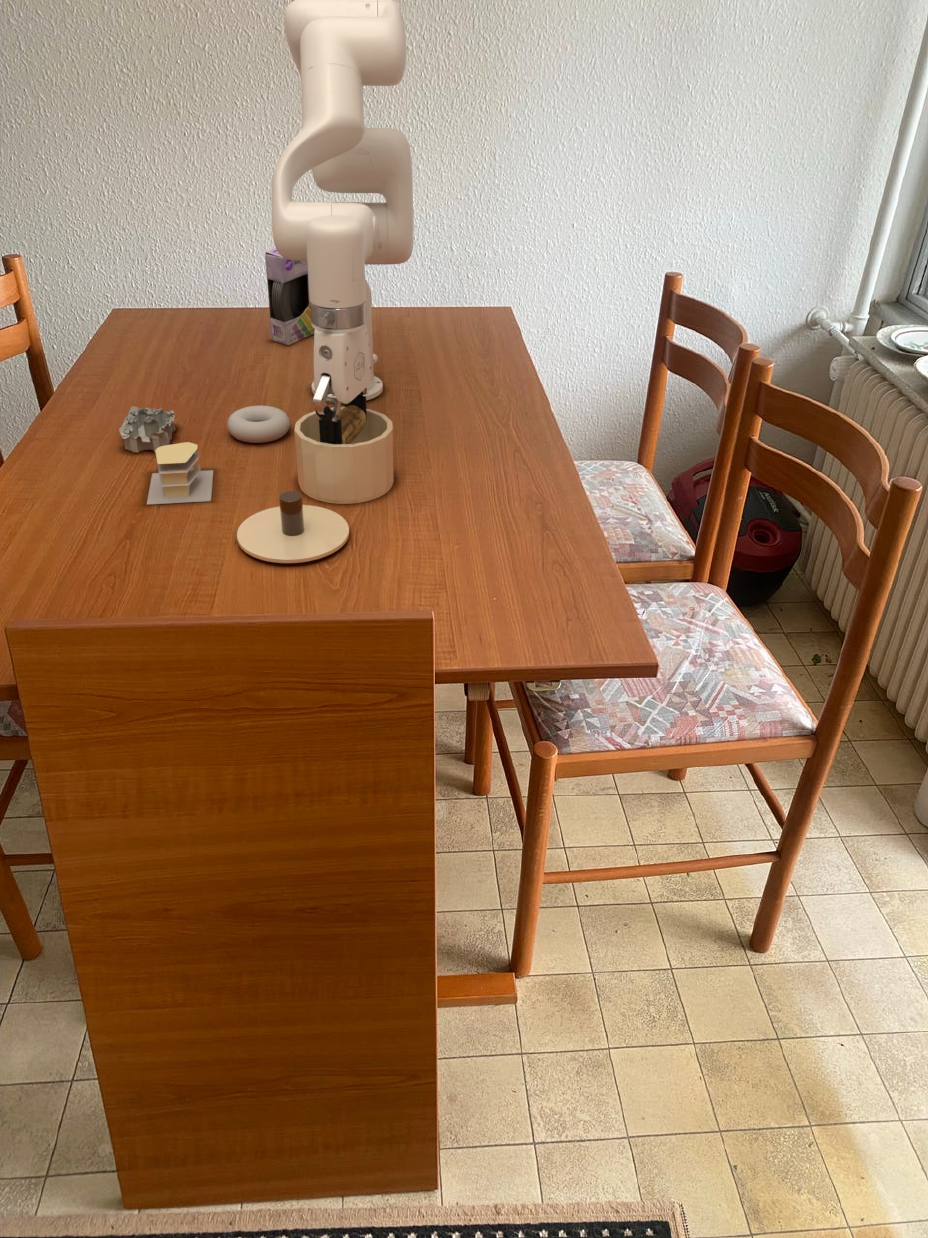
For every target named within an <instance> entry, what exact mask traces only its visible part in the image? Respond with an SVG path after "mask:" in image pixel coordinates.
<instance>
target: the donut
mask: <svg viewBox="0 0 928 1238" xmlns="http://www.w3.org/2000/svg"><path fill="white" fill-rule="evenodd" d="M290 426H291V421H290V418H289V416H288V414H287V413H286V412H285V411H284V410H282V409H280V408H278V407H275V406H269V405H250V406H246V407H242V408H240V409H236V410H235V411H234V412H233V413H232V414H230V416H229V418H228V419H227V422H226V427H227V430H228V433H229V434H230V435H231V436H232V437H233V438H235V439H236V440H237V441H241V442H244V443H250V444H261V443H262V444H263V443H270V442H273V441H277V440H278V439H281V438H282V437H284V436H285V435H286V434H287V433H288V431H289V429H290Z"/></svg>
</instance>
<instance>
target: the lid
mask: <svg viewBox="0 0 928 1238" xmlns="http://www.w3.org/2000/svg"><path fill="white" fill-rule="evenodd" d="M278 502H279V506H273V507H270V508H266V509H263V510H260V511H258V512H255V513H254V514H252V515H250V516H249V517H247V518H246V519H245V520H243V521H242V522H241V524H239V526H238V528H237V531H236V541H237V544H238V546H239V547H240V549H241V550H242V551H244V553H246V554H248V555H249V556H251V557H253V558H255V559H258V560H260V561H264V562H269V563H270V562H271V563H275V564H276V563H277V564H299V563H300V564H301V563H306V562H311V561H312V562H313V561H315V560H316V561H317V560H321V559H323V558H326V557H328V556H330V555H332V554H335V552H338V551H339V550H341V548H342V547H343V546H345V544H346V543H347V542H348V540H349V537H350V526H349V523H348V522H347V520H346V519H345V518H344V517H343V516H342V515H341V514H339V513H337V512H336V511H333V510H331V509H328V508H325V507H321V506H317V505H311V504H303V496H302V494H301V493H300V492H299V491H295V490H294V491H293V490H292V491H291V490H290V491H285V492H281V493H280V494H279V496H278Z"/></svg>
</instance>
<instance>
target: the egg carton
mask: <svg viewBox="0 0 928 1238" xmlns="http://www.w3.org/2000/svg"><path fill="white" fill-rule="evenodd" d="M175 417H176V415H175V411H174V410H173V409H170V410H169V411H165V410H164V409H163V408H162V407H160V408H158V409H157V408H154V407H150V408H149V407H146V406H145V407H144V408H142V407H137V406H133V405H131V406H130V409H129V411H128V414H127V415H126V416H125V417H124V421H123V423H122V424H121V426H120V427H119V429H118V432H119V434H120V436H121V438H122V439H123V444H124V449H125V450H128V451H131V452H132V453H133V454H135V453H136V454H138V453H140V452H142V451H146V450H147V451H150V450H151V451H153V453H156V452H155V450H156V449H157V448H159V447H161V446H166V445H171V444H170V443H171V441H172V440H173V432H176V426H175Z"/></svg>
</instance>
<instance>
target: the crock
mask: <svg viewBox="0 0 928 1238" xmlns="http://www.w3.org/2000/svg"><path fill="white" fill-rule="evenodd" d="M329 408H330V409H331V410H332V411H333V409H334V406H333V407H329ZM343 408H345V406H341V408H340V411H341V410H342V409H343ZM393 432H394V427H393V421H392V420H391V419H390V418H389V417H388V416H387V415H386V414H384V413H382V412H379V411H376V410H374V409H372V408H371V409H370V408H367V420H366V424H365V426H364V428H363V429H362V431H361V432H360V433H359V435H358V436H357V437H356V438H355V439H354V440H353V441H352V442H351V443H350V444H329V443H322V442H320V430H319V419H318V418H317V414H316V410H314V411H312V412H309V413H307V414H304V415H302V416H301V417H300V418H299V419H298V420H297V421H296V422H295V423H294V442H295V445H294V446H295V456H296V470H297V481H298V486H299V489H300V490H301V491H302V493H303V494H305V495H307V497H309V498H311V499H313V500H316V501H318V502H319V501H320V502H322V503H329V504H337V505H351V504H352V505H353V504H360V503H361V504H362V503H365V502H369V501H373V500H375V499H378V498H381V497H382V496H384V495H385V494H387V493H388V492H389V491H391V489H392V487H393V485H394V483H395V482H394V481H395V480H394V433H393Z"/></svg>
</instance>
